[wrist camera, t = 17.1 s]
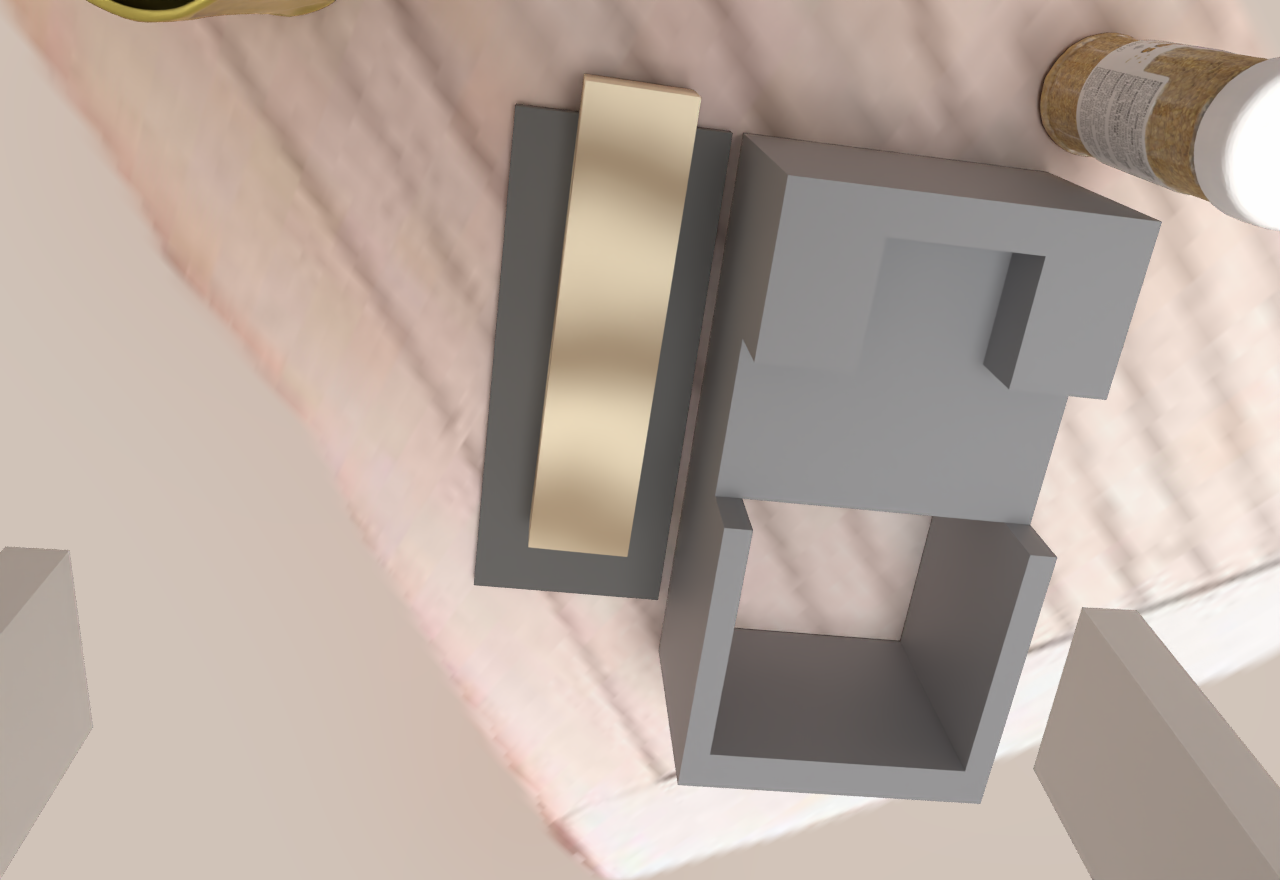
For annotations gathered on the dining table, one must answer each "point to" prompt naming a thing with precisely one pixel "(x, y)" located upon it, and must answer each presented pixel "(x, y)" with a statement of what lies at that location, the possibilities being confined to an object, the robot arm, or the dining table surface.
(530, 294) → the rubber mat
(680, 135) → the birch bar
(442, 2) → the dining table surface
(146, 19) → the vase
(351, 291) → the dining table surface
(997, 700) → the pocket block
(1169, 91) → the sprinkles bottle
